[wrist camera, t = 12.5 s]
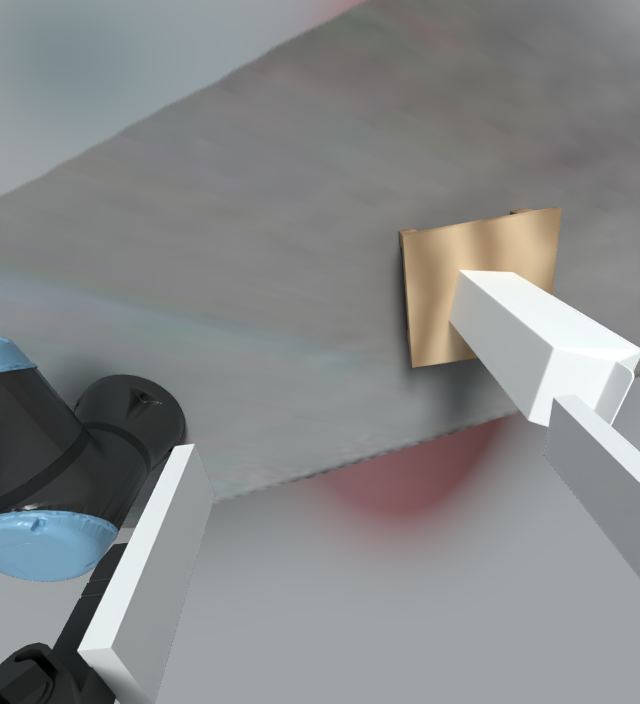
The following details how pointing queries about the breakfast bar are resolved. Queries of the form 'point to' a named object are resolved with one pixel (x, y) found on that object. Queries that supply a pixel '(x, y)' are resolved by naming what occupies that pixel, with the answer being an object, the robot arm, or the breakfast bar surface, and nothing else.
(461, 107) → the breakfast bar surface
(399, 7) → the breakfast bar surface
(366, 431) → the breakfast bar surface
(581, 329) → the milk
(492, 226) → the light brown square platform
